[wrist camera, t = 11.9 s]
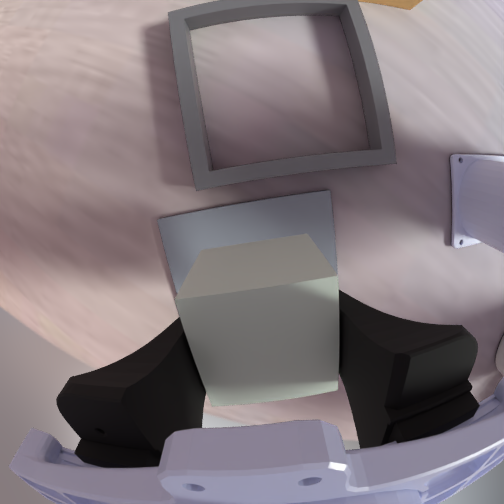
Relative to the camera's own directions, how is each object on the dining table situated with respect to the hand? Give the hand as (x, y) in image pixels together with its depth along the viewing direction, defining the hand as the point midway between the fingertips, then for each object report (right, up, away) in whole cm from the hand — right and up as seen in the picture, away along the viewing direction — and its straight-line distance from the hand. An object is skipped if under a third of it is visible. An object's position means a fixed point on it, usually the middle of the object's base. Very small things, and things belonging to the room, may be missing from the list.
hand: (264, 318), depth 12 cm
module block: (0, +1, +2) cm, 2 cm away
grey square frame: (+1, +14, +4) cm, 15 cm away
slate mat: (0, 0, +9) cm, 9 cm away
